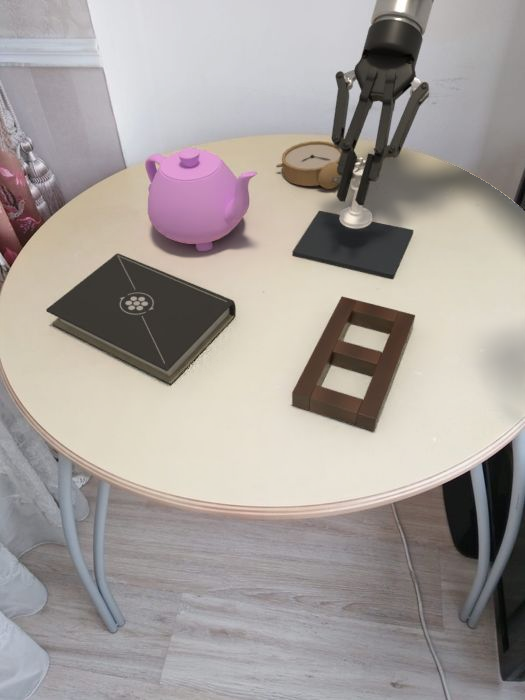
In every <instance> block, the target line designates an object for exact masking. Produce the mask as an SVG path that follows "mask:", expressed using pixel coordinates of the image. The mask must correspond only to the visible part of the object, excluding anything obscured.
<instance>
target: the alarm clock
mask: <svg viewBox="0 0 525 700" xmlns="http://www.w3.org/2000/svg"><path fill="white" fill-rule="evenodd" d="M341 151H342V150H341V149H339V148H336V147H335V145H334V143H333V142H330V141H322V140H312V141H305V142H300V143H298V144H295V145H292V146H290V147H289V148H287V149H286V150H285V151H284V152H283V153H282V155H281V163H278V164H276V165H275V166H276V168H282V175H283V177H284V179H285V180H286V181H288V182H289V183H292V184H293V185H297V186H298V185H299V186H305V187H312V186H313V187H315V186H316V187H317V186H320V187H322V188H323V189H325V190H326V189H327V190H332V189H335V188H336V187H338V185H340V182H341V178H342V176H340V175H339V174H338V173H337V167H338V163H339V159H340V156H341ZM358 162H359V158H357V161H356V163H358ZM352 179H354V176H353V175H352Z"/></svg>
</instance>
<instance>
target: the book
mask: <svg viewBox="0 0 525 700" xmlns="http://www.w3.org/2000/svg"><path fill="white" fill-rule="evenodd" d="M236 309H237V308H236V302H235V301H234V300H233V299H231V298H229V297H226V296H225V295H222V294H219V293H216V292H214V291H211V290H209V289H206V288H204V287H201V286H199V285H196V284H195V283H193V282H190V281H187V280H184V279H182V278H180V277H178V276H175V275H172V274H170V273H167V272H166V271H162V270H160V269H157V268H156V267H153V266H150V265H148V264H146V263H143V262H140V261H138V260H136V259H133V258H130V257H129V256H126V255H124V254H121V253H115V254H114V255H113V256H112V257H111V258H109V259H108V260H106V262H104V263H103V264H102V265H100V266H99V267H98V268H97V269H95V270H94V271H93V272H91V273H90V274H89V275H87V276H86V277H85V278H84V279H83V280H82V281H80V282H79V283H77V284H76V285H75V286H74V287H72V288H71V289H70V290H69V291H68V292H66V293H65V294H63V295H62V296H61V297H60V298H58V299H57V300H56V301H55V302H54V303H53V304H51V305H50V306H48V307H47V308H46V310H45V311H46V312H47V313H49V314H51V315H53V316H54V317H56V318H57V319H55V321H53V322H52V326H53V327H55V328H58V329H60V331H61V330H62V331H64V332H65V333H67V334H69V335H71V336H74V337H75V338H77V339H79V340H81V341H83V342H85V343H87V344H89V345H90V346H93V347H95V348H97V349H99V350H100V351H103V352H104V353H107V354H109V355H111V356H113V357H115V358H117V359H119V360H120V361H123V362H124V363H127V364H128V365H130V366H132V367H134V368H137V369H138V370H140V371H142V372H144V373H146V374H148V375H150V376H152V377H154V378H156V379H157V380H160V381H161V382H164V383H166V384H167V385H170V386H172V385H174V383H175V382H176V381H177V379H178V378H180V376H181V375H182V374H183V373H184V372H185V371H186V370H187V369H188V368H189V367H190V366H191V365H192V364H193V362H195V360H197V358H199V356H200V355H201V354H202V353H203V352H204V351H205V350H206V349H207V348H208V346H209V345H211V343H213V341H214V340H215V339H217V337H218V336H219V335H220V334H221V333H222V332H223V331H224V329H225V328H227V326H228V325H229V324H230V323H231V322H232V321H233V320H234V319H235V317H236V314H237V313H236V311H237V310H236Z"/></svg>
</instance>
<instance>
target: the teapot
mask: <svg viewBox="0 0 525 700" xmlns="http://www.w3.org/2000/svg"><path fill="white" fill-rule="evenodd" d="M156 164H157V165H158V168H157V165H156ZM144 165H145V171H146V173H147V174H146V175H147V177H148V179H149V182H150V184H149V186H148V188H147V189H148V197H147V215H148V218H149V221H150V224H151V225H152V227H154V229H155V230H156V231H157V232H159V233H160V234H161V235H163V236H164V238H166V239H169V240H172V241H175V242H178V243H182V244H189V245H195V249H196V250H197V251H199V252H207V251H211V249H212V248H213V247H214V245H213V242H215V241H218V240H220V239H221V238H223V237H225V236H227V235H228V234H229V233H231V232H232V231H233V230H234V229H235V228H236V227H237V226H238V224H239V223H240V222H241V221H242V219H243V217H244V216H245V215H246V214H247V213H248V210H249V208H250V200H251V199H250V192H249V183H250V181H251V179H252V178H254V177H255V176H256V175H258V171H254V170H253V171H246V172H243V173H241V174H239V176H238V177H237V176H236V175H235V174H234V172H233V171H232V170H231V168H230V167H229V166H228V165H227V164H226V162H225V161H224V160H223V159H221V157H220V156H219V155H217V154H216V153H214V152H211V151H209V150H205V149H197V148H194V147H187V148H183V149H181V150H179V151H177V152H174V153H172V154H170V155H169V156H167V157H166V156H165V155H163V154H160V153H153V154H151V155H149V156H148V157H147V158H146V159H145V164H144Z"/></svg>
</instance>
